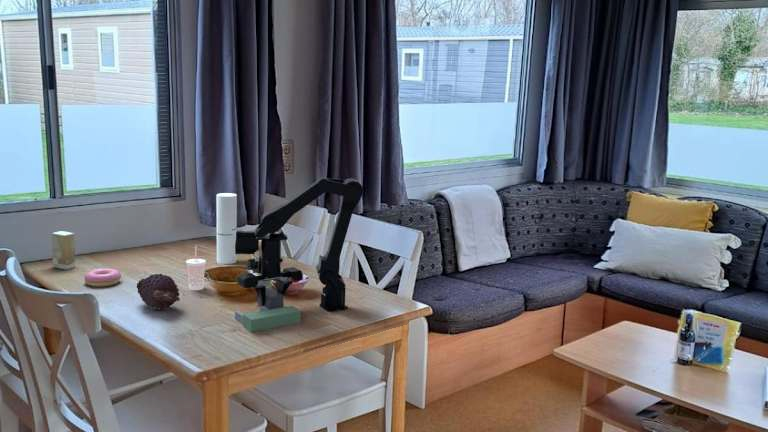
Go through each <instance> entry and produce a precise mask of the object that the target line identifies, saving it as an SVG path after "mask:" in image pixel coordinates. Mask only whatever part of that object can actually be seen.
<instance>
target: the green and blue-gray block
mask: <svg viewBox="0 0 768 432" xmlns="http://www.w3.org/2000/svg"><path fill="white" fill-rule="evenodd" d="M301 318H302V312H301V310H300V309H299V308H297V307H295V306H293V305H289V306H283V308H277V309H271V310H269V309H268V308H266V307H265V306H261V307H259V311H253V312H249V313H248V312H247V313H243V312H242V311H241V310H238V309H237V310H234V319H235V320H237V321H238V322H239V323H240V324H242V326H243V328H245V329H246V330H247V331H249V332H250V333H254V332H259V331H260V332H261V331H264V330H265V331H266V330H269V329H273V328H274V329H275V328H280V327H284V326H285V327H286V326H290V325H296V324H301V323H302V322H301Z"/></svg>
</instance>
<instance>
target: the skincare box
mask: <svg viewBox="0 0 768 432" xmlns="http://www.w3.org/2000/svg"><path fill="white" fill-rule="evenodd" d="M75 235H76V234H75V233H74V232H70V231H64V230H61V231H54V232H52V233H51V245H52V246H51V247H52V248H51V249H52V268H57V269H61V270H70V269H73V268H75V267H76V241H75V239H76V236H75Z"/></svg>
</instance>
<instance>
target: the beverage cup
mask: <svg viewBox="0 0 768 432" xmlns="http://www.w3.org/2000/svg"><path fill="white" fill-rule="evenodd" d="M197 247H198V246H197V245H195V246H194V258H190V259H187V260H186V261H185V263H186V268H187V269H186V270H187V281H188V282H187V283H188V290H190V291H199V290H203V289H204V287H205V286H204V285H205V268H206V264H207V262H206V259H203V258H197V256H198V255H197V253H198V252H197V249H198V248H197Z"/></svg>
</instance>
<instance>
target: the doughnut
mask: <svg viewBox="0 0 768 432" xmlns="http://www.w3.org/2000/svg"><path fill="white" fill-rule="evenodd" d="M121 278H122V274H121V272H120V271H119V270H117V269H114V268H102V267H101V268H95V269H92V270H89V271H87V272H86V273H85V275H84V277H83V279H84V283H86V284H87V285H88V286H90V287H96V288H102V287H109V286H113V285H116V284H118V283H120V281H121Z"/></svg>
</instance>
